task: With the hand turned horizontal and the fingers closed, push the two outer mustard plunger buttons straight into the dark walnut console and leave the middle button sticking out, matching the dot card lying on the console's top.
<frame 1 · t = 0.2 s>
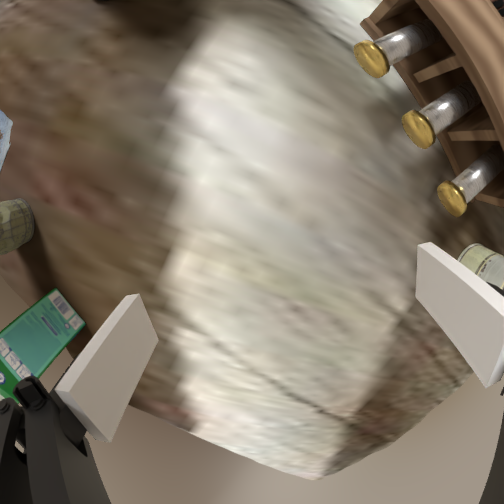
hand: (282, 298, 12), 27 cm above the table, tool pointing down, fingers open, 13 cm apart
coffee can: (470, 268, 41), on the table
milk carton: (61, 315, 45), on the table
button b: (446, 109, 26), point 8 cm above the table, slide at 0.0 cm
button c: (403, 43, 24), point 8 cm above the table, slide at 0.0 cm
button a: (477, 176, 28), point 8 cm above the table, slide at 0.0 cm
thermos: (21, 220, 40), on the table
console: (423, 111, 33), on the table
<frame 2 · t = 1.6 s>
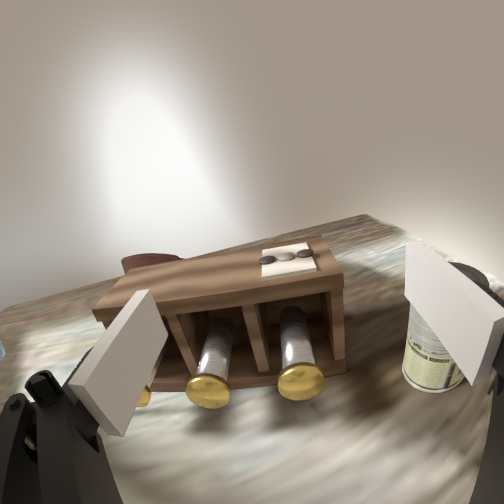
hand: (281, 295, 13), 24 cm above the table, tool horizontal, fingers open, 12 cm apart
coffee can: (434, 368, 32), on the table
button b: (215, 356, 34), point 8 cm above the table, slide at 0.0 cm
button c: (146, 360, 35), point 8 cm above the table, slide at 0.0 cm
button a: (296, 346, 33), point 8 cm above the table, slide at 0.0 cm
console: (232, 389, 38), on the table
letter holder: (173, 298, 71), on the table
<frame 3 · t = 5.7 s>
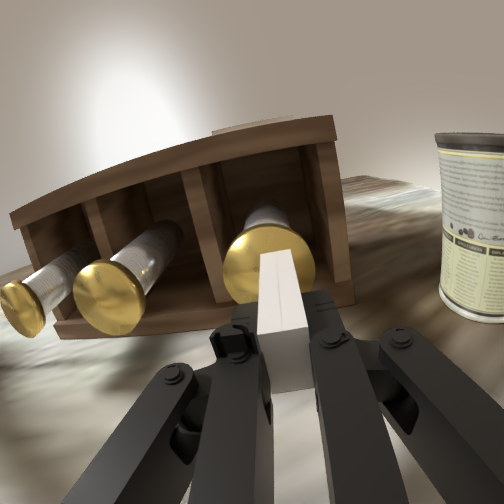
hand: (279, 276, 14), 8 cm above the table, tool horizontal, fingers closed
coffee can: (484, 294, 19), on the table
button b: (142, 261, 22), point 8 cm above the table, slide at 0.0 cm
button c: (58, 278, 23), point 8 cm above the table, slide at 0.0 cm
button a: (267, 236, 21), point 8 cm above the table, slide at 0.4 cm, touching gripper
console: (177, 332, 26), on the table
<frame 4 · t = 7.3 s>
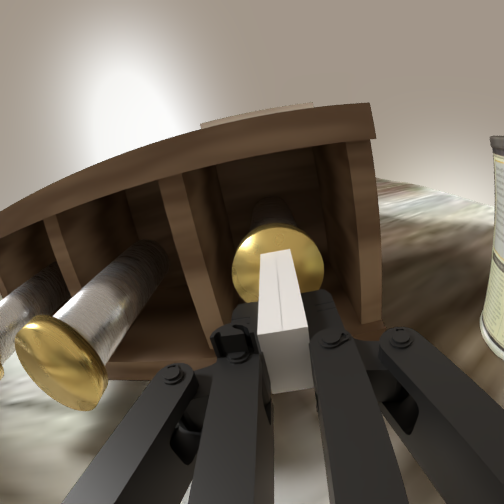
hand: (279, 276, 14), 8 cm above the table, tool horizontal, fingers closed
button b: (110, 302, 15), point 8 cm above the table, slide at 0.0 cm
button c: (21, 312, 16), point 8 cm above the table, slide at 0.0 cm
button a: (274, 235, 21), point 8 cm above the table, slide at 7.0 cm, touching gripper
console: (163, 380, 20), on the table
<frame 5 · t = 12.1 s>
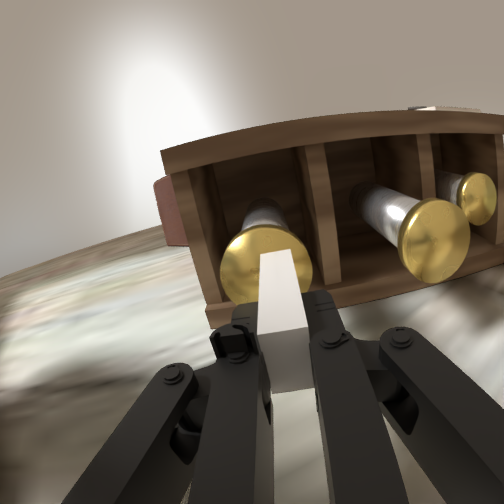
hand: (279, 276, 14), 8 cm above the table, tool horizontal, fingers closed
button b: (394, 215, 19), point 8 cm above the table, slide at 0.0 cm
button c: (265, 236, 21), point 8 cm above the table, slide at 0.5 cm, touching gripper
button a: (444, 187, 25), point 8 cm above the table, slide at 7.0 cm
console: (388, 296, 24), on the table
letter holder: (219, 239, 54), on the table
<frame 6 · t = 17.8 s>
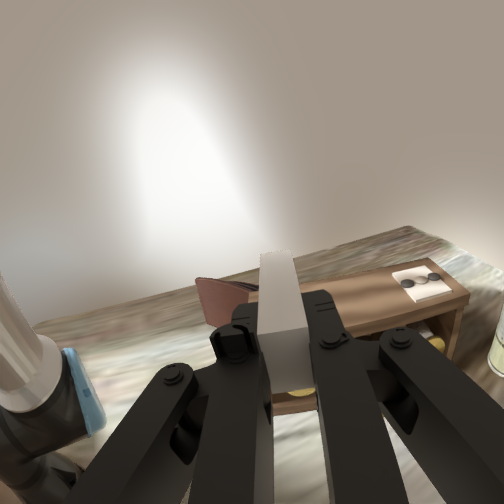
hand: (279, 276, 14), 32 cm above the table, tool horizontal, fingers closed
button b: (372, 372, 34), point 8 cm above the table, slide at 0.0 cm
button c: (298, 355, 42), point 8 cm above the table, slide at 7.0 cm
button a: (415, 328, 40), point 8 cm above the table, slide at 7.0 cm
console: (366, 398, 39), on the table
letter holder: (247, 324, 68), on the table
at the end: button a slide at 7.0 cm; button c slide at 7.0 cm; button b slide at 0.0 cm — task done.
